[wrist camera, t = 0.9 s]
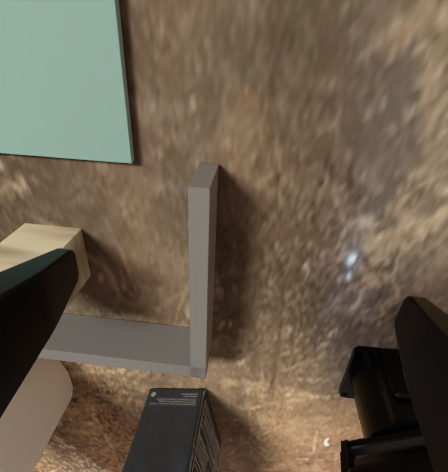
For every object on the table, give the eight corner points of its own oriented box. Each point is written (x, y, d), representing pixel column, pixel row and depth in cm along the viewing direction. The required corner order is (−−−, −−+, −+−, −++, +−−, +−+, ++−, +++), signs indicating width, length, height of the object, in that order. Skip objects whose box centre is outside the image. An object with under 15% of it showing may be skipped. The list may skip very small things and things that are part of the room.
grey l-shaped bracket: (212, 339, 30) (205, 378, 27) (-50, 309, 32) (-88, 342, 29) (218, 164, 22) (209, 188, 18) (-139, 136, 24) (-207, 153, 20)
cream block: (91, 275, 28) (43, 340, 22) (39, 269, 28) (-22, 333, 22) (81, 228, 26) (25, 287, 20) (25, 223, 26) (-47, 279, 20)
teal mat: (134, 160, 22) (131, 163, 22) (-63, 144, 23) (-71, 147, 23) (110, -84, 16) (105, -88, 16) (-158, -91, 17) (-171, -95, 17)
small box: (145, 386, 35) (104, 506, 26) (206, 386, 34) (185, 511, 25) (169, 442, 40) (141, 558, 32) (222, 443, 39) (209, 564, 30)
